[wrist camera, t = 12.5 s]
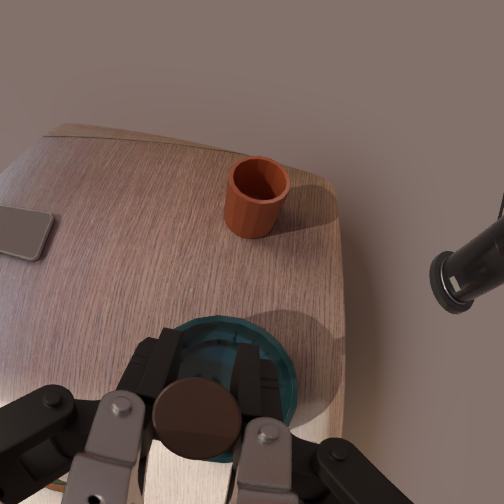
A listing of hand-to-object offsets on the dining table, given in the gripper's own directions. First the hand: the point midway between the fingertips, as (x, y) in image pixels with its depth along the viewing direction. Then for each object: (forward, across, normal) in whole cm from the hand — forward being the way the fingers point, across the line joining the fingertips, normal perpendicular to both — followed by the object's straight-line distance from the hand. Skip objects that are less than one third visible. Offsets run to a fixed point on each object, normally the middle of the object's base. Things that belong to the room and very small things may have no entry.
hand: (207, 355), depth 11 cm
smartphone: (+24, +33, +7) cm, 41 cm away
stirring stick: (+8, 0, +11) cm, 14 cm away
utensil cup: (+30, -2, +1) cm, 31 cm away
